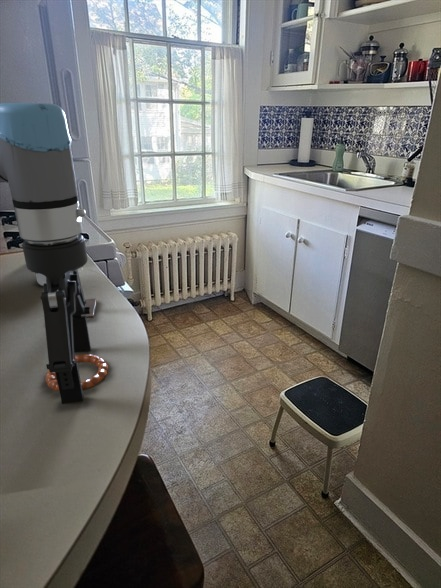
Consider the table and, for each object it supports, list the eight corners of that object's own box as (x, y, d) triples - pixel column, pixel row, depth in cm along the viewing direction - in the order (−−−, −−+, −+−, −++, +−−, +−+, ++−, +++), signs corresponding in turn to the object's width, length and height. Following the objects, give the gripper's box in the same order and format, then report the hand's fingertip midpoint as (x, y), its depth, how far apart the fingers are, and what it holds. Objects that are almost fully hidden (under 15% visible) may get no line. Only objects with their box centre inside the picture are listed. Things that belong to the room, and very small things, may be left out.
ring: (52, 363, 62) (50, 356, 62) (109, 357, 64) (108, 350, 63) (41, 399, 54) (39, 391, 54) (106, 391, 56) (105, 383, 55)
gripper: (72, 267, 40) (99, 428, 49) (91, 214, 62) (107, 333, 71) (-8, 272, 39) (35, 438, 48) (40, 216, 60) (63, 337, 69)
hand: (78, 375), depth 59 cm, fingers open, 12 cm apart
